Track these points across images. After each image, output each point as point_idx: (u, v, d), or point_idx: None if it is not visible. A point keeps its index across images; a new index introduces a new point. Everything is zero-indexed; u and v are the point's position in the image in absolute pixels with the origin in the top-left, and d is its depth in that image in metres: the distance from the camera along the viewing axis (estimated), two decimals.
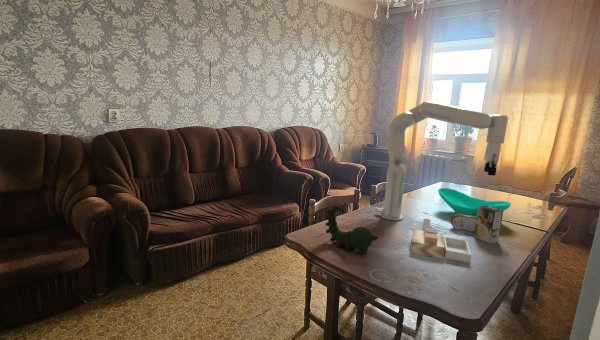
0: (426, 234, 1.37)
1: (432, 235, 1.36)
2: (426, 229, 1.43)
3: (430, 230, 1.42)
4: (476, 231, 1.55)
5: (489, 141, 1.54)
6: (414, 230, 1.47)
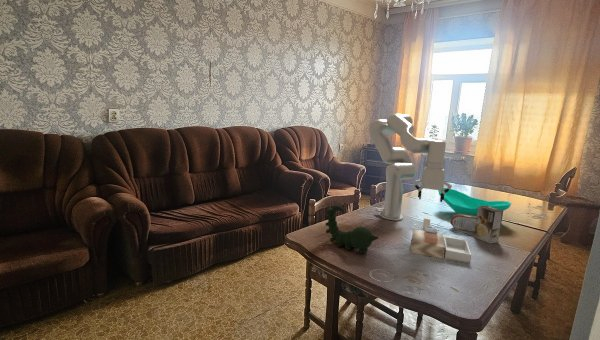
0: (426, 234, 1.37)
1: (432, 235, 1.36)
2: (426, 229, 1.43)
3: (430, 230, 1.42)
4: (476, 231, 1.55)
5: (440, 168, 1.47)
6: (414, 230, 1.47)
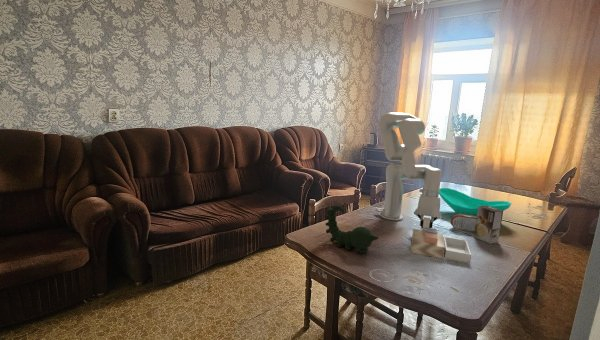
0: (426, 234, 1.37)
1: (432, 235, 1.36)
2: (426, 229, 1.43)
3: (430, 230, 1.42)
4: (476, 231, 1.55)
5: (435, 196, 1.50)
6: (414, 230, 1.47)
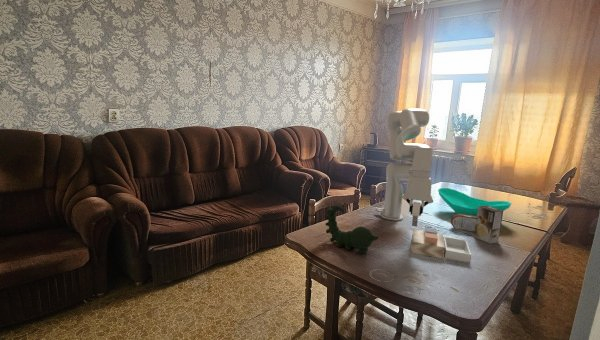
0: (426, 234, 1.37)
1: (432, 235, 1.36)
2: (426, 229, 1.43)
3: (430, 230, 1.42)
4: (476, 231, 1.55)
5: (426, 177, 1.33)
6: (414, 230, 1.47)
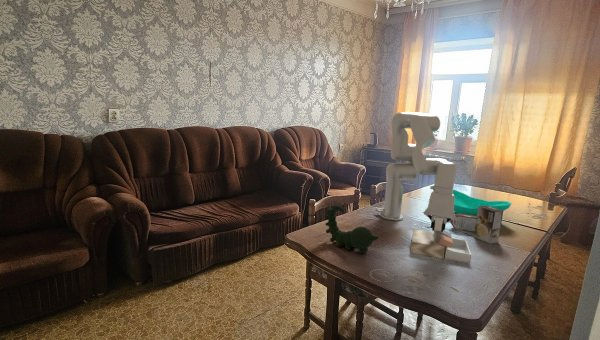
0: (441, 236, 1.34)
1: (447, 238, 1.34)
2: None
3: (445, 233, 1.40)
4: (476, 231, 1.55)
5: (449, 194, 1.31)
6: (414, 230, 1.47)
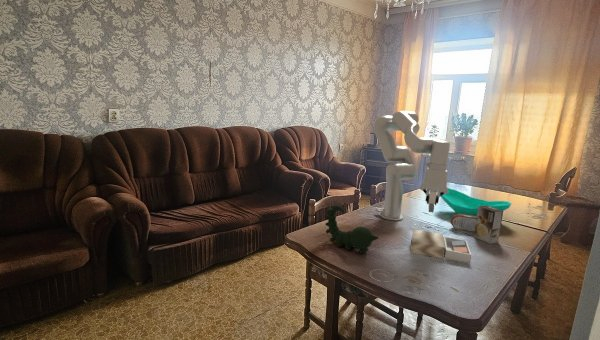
0: None
1: None
2: None
3: None
4: (476, 231, 1.55)
5: (442, 170, 1.44)
6: (414, 230, 1.47)
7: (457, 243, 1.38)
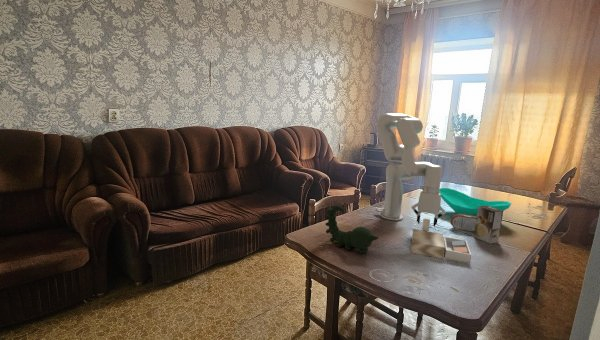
0: None
1: None
2: None
3: None
4: (476, 231, 1.55)
5: (436, 193, 1.50)
6: (414, 230, 1.47)
7: (457, 243, 1.38)
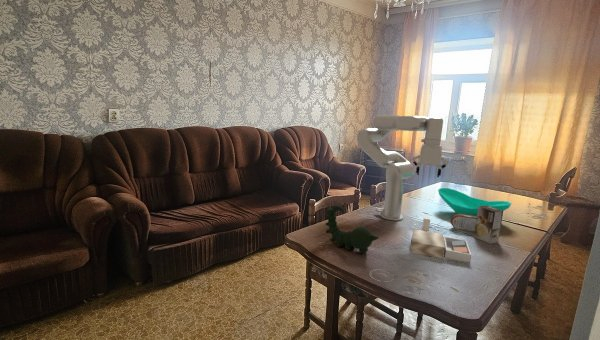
0: None
1: None
2: None
3: None
4: (476, 231, 1.55)
5: (437, 145, 1.53)
6: (414, 230, 1.47)
7: (457, 243, 1.38)
